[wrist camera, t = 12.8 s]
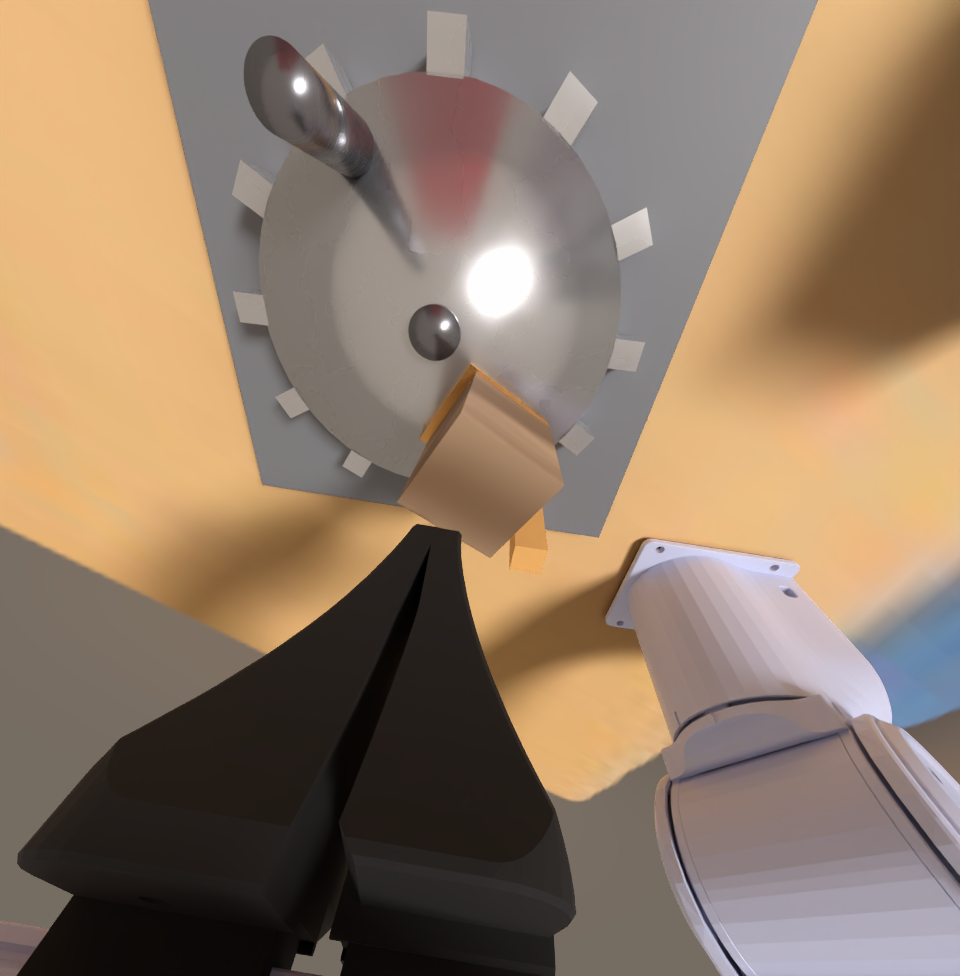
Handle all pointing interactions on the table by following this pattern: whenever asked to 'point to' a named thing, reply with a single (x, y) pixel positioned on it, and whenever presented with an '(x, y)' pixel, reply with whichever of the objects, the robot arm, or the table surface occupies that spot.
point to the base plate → (536, 80)
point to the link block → (484, 469)
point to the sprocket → (430, 247)
